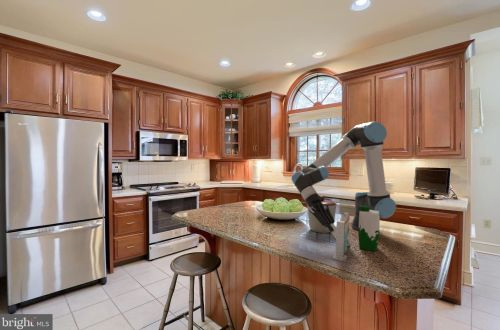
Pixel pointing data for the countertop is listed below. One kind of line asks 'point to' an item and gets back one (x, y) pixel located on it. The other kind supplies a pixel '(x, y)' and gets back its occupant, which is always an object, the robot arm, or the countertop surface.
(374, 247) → the milk carton
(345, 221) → the gate
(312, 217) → the canister
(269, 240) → the countertop surface
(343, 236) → the gate frame
